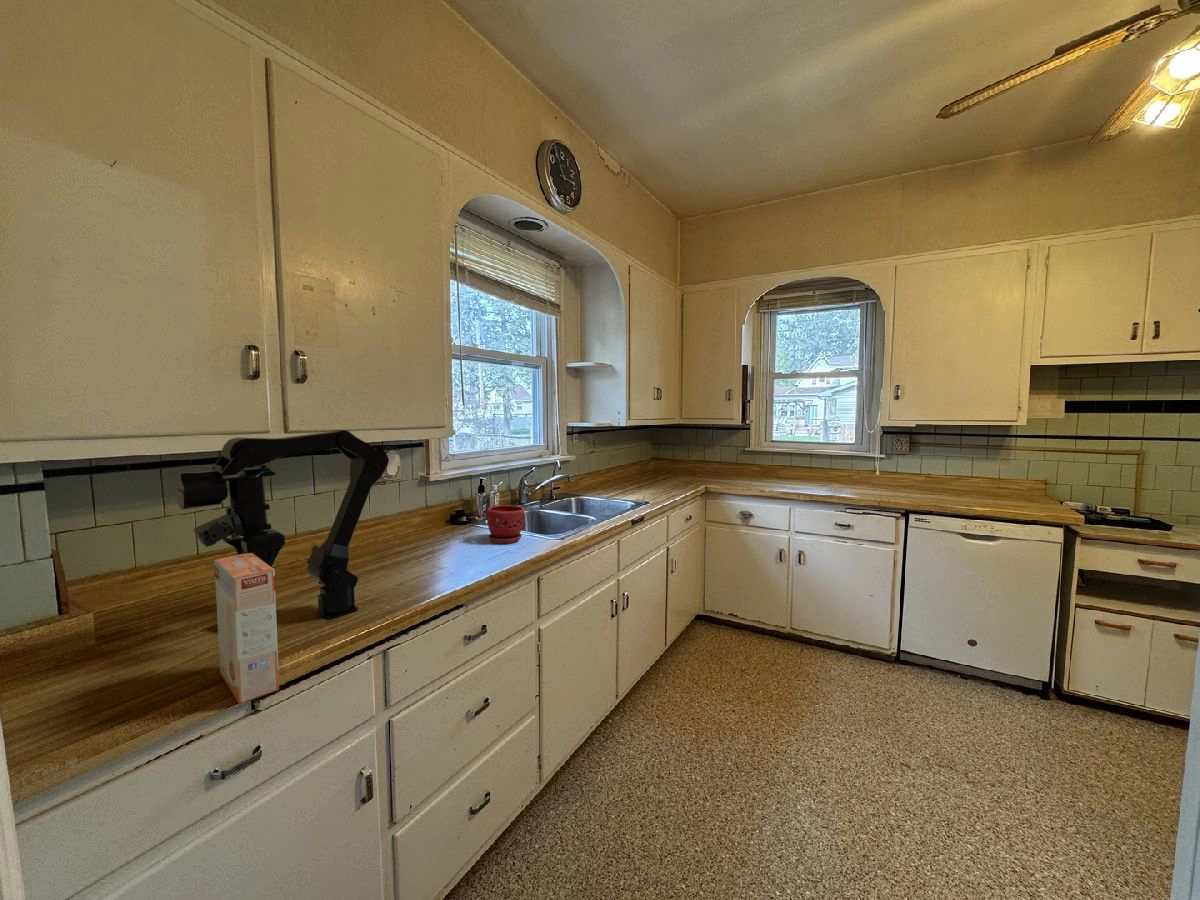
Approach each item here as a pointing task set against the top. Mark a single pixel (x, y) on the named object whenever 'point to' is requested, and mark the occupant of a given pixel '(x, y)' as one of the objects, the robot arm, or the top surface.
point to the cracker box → (247, 626)
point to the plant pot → (505, 523)
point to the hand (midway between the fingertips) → (254, 575)
